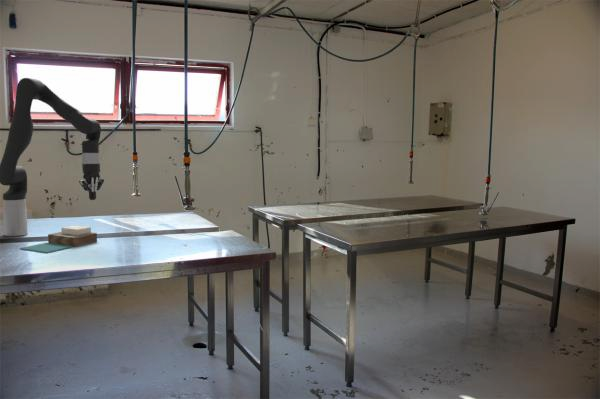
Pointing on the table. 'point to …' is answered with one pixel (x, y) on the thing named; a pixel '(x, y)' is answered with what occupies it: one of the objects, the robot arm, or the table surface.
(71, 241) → the deck
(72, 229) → the cream rectangular tile
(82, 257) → the table surface
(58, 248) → the mat
